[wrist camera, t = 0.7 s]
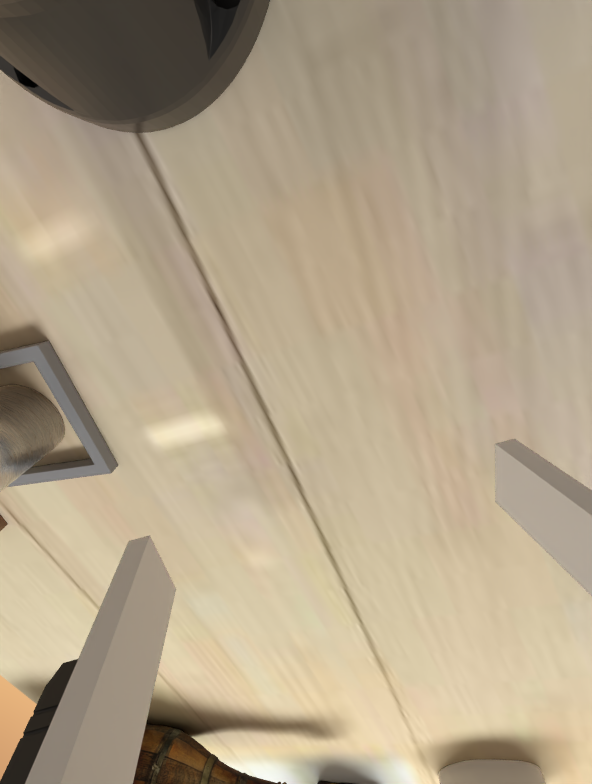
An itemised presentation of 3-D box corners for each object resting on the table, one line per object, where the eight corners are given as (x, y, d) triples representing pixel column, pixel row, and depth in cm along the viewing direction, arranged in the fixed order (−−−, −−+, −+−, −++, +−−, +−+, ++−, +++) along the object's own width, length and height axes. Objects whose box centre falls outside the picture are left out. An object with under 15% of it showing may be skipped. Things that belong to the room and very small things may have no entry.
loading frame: (-71, 368, 27) (-86, 373, 26) (48, 340, 24) (37, 345, 23) (11, 480, 31) (1, 487, 30) (118, 465, 29) (111, 473, 28)
